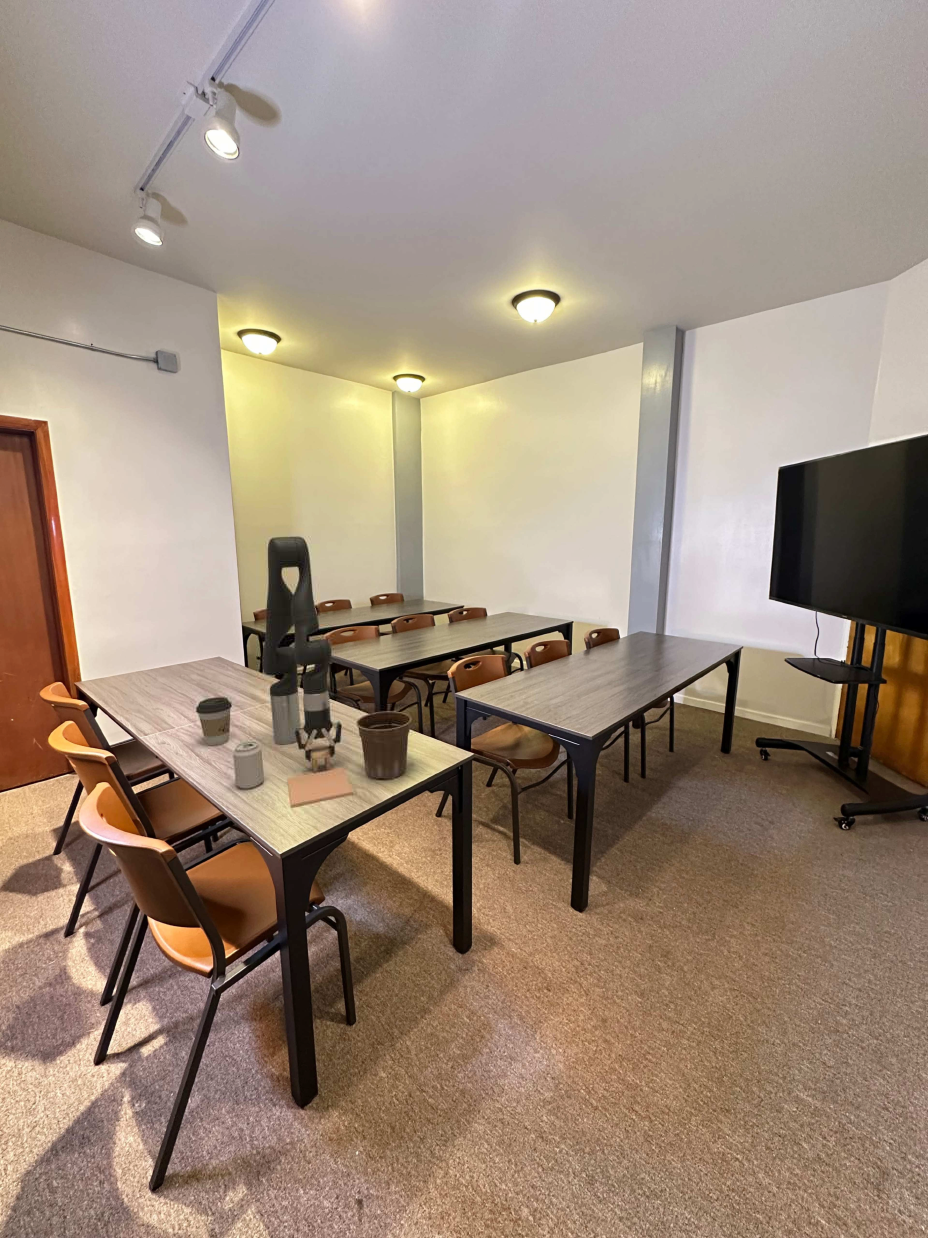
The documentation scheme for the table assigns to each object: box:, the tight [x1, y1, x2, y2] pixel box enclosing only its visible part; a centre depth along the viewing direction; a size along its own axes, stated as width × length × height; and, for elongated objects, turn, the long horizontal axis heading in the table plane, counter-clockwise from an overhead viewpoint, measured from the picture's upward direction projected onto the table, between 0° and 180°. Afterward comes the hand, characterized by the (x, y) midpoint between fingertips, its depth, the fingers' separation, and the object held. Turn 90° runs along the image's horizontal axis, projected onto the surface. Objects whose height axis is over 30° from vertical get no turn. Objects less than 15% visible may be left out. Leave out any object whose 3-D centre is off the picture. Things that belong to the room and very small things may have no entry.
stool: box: [310, 744, 331, 774], centre depth 149 cm, size 6×6×6 cm
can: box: [232, 740, 265, 790], centre depth 140 cm, size 8×8×12 cm
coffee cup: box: [195, 696, 233, 747], centre depth 171 cm, size 11×11×15 cm
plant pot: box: [356, 710, 413, 780], centre depth 146 cm, size 16×16×16 cm
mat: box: [287, 767, 354, 808], centre depth 137 cm, size 16×16×1 cm
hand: (320, 758), depth 149 cm, fingers closed on stool, 6 cm apart
